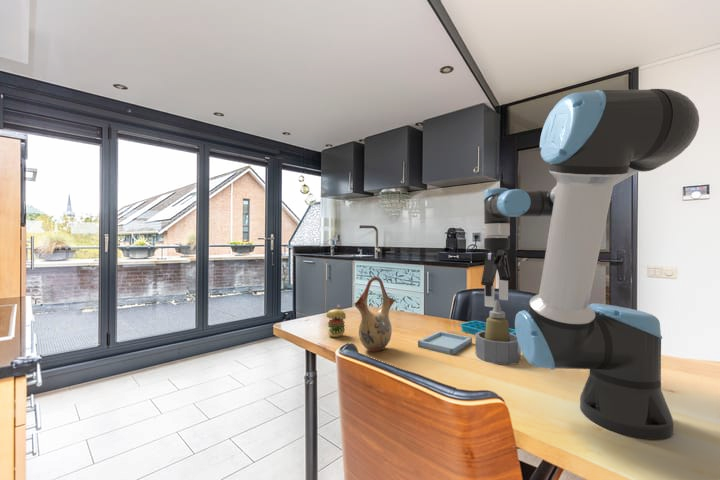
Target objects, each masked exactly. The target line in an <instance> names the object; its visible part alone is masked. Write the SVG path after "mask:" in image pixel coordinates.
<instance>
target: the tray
mask: <svg viewBox="0 0 720 480" xmlns="http://www.w3.org/2000/svg"><path fill="white" fill-rule="evenodd" d="M472 343H473V337H472V336H465V335H461V334H455V333H450V332H447V331H442V330H438V331H437V332H434V333H432V334H430V335H428V336H426V337H424V338H422V339H419V340H417V347H418V348H421V349H422V348H423V349H426V350H430V351H435V352H439V353H443V354H447V355H450V356H454V355H455V354H457V353H458V352H461V351H462V350H463V349H465V348H467V347H468V346H470V345H472Z"/></svg>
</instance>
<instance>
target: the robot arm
mask: <svg viewBox="0 0 720 480" xmlns="http://www.w3.org/2000/svg"><path fill="white" fill-rule="evenodd" d="M545 119H546V120H545V121H544V124H543V127H542V130H541V134H540V137H539V138H540V139H539V140H540V141H539V149H540V153H539V154H540V156H541V159H542V160H543V161H544V162H546V163H548V164H550V166H549V173H550V174H551V175H552V177H553V178H554V179H555V181H556V185H555V186H554V187H552V188H551V189H549V190H548V189H547V190H546V189H544V190H543V189H542V190H522V189H519V188H515V189H509V188H506V187H494V188H493V187H492V188H487V189H486V190H485V191H484V195H483V196H484V198H483V204H484V205H483V207H484V208H483V210H484V212H483V214H484V216H483V217H484V225H483V227H482V229H483V231H484V236H485V237H484V238H483V239H484V247H483V248H484V249H485V250H489V252H486V253H485V260H484V264H483V265H484V266H483V271H482V276H481V282H480V284H481V286H484V307H489V308H494V304H495V285H494V283H495V279H496V275H497V273H498V276H499V280H498V300H499V301H500V300H501V301H508V300H509V281H511V280H512V277H511V273H510V272H511V271H510V265H509V258H508V251H506V250H509V249H510V248H511V246H510V245H511V244H510V243H511V242H510V241H511V239H510V235H511V232H510V230H511V227H510V226H511V225H510V224H511V223H510V222H511V219H510V218H513V217H514V218H518V217H519V218H521V217H522V218H525V217H527V218H531V217H532V218H533V217H534V218H535V217H545V218H548V217H551V218H550V223H549V230H548V237H547V241H546V242H547V243H546V248H545V255H544V261H543V268H542V273H541V280H540V285H539V293H538V294H535V295H533V297H530V300H529V303H528V310H525V309H523V310H519V311H518V312H517V313H516V315H515V318H514V330H515V331H516V337H517V341H518V344H519V347H520V349H521V355H522V356H523V357H524V359H525V360H526V361H527V363H529V364H530V365H531V366H532V367H535V368H538V369H539V368H540V369H550V370H555V369H560V370H562V369H563V370H564V369H565V370H589V372H588V373H589V374H588V377H587V380H586V382H585V384H584V386H583V389H582V392H581V394H580V397H579V409H580V411H581V413H582V414H583V415H584V416H585V417H586V418H587V419H589V420H590V421H592V422H594V423H595V424H597V425H599V426H601V427H604V428H606V429H608V430H609V431H614V432H616V433H618V434H622V435H625V436H629V437H632V438H633V437H634V438H639V439H643V440H644V439H646V440H665V439H668V438H671V437H672V436H673V435H674V419H673V416H672V413H671V411H670V408H669V406H668V404H667V402H666V399H665V396H664V393H663V390H662V382H661V381H662V363H661V362H662V339H663V335H662V334H661V332H662V330H661V322H660V320H659V319H658V318H657V316H655V315H653V314H652V313H648V312H645V311H642V310H639V309H638V310H637V309H633V308H628V307H624V306H623V307H622V306H618V305H611V304H607V303H605V304H603V303H596V302H595V303H590V304H589V302H590V297H591V293H592V288H593V284H594V279H595V275H596V270H597V264H598V260H599V256H600V250H601V246H602V242H603V237H604V232H605V228H606V223H607V218H608V214H609V209H610V205H611V199H612V194H613V190H614V186H616V185H618V184H620V182H622V181H624V180H626V179H628V178H630V177H631V176H634V175H635V174H637V173H639V172H640V173H642V172H643V173H644V172H651V171H654V170H656V169H657V168H660V167H662V166H663V165H665V164H667V163H669V162H670V161H673V160H674V159H675V158H677V157H678V156H679V155H681V154H682V153H683V152H684V151H685V150H686V149H687V148H688V147H689V146H690V145H691V144H692V143H693V141H694V139H695V137H696V136H697V132H698V130H699V127H700V115H699V111H698V109H697V107H696V105H695V103H694V102H693V101H692V100H691V99H690V98H689V97H688V96H686V95H684V94H683V93H681V92H679V91H677V90H673V89H670V88H669V89H666V88H649V89H597V90H595V89H594V90H593V89H592V90H588V91H581V92H580V91H578V92H573V93H570V94H568V95H566V96H564V97H562V98H561V99H560V100H559V101H558V102H557V103H556V104H555V105H554V106H553V108H552V110H551V111H550V112H549V114H548V116H547V117H546V118H545Z"/></svg>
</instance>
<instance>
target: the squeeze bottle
mask: <svg viewBox="0 0 720 480" xmlns="http://www.w3.org/2000/svg"><path fill="white" fill-rule="evenodd" d="M492 308H493V309H492V310H490V311H489V317H487V318H486V322H485V323H486V330H485V339H487V340H492V341H499V342H509V341H510V333H509V328H510V327H509V326H510V325H509V320H508V319H507V318H506V312H505V311H502V307H501V303H500V299H494V307H492Z"/></svg>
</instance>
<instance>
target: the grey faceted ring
mask: <svg viewBox="0 0 720 480" xmlns="http://www.w3.org/2000/svg"><path fill="white" fill-rule="evenodd" d="M474 338H475V340H474V341H475V342H474V343H475V345H474V346H475V348H474V349H475V350H474V352H475V356H476V357H477V358H478V359H480V360H482V361H484V362H488V363H492V364H497V365H514V364H518V363H520V361H521V360H522V352H521V349H520V347H519V344H518V341H517V337H516V335H514V334H511V333H510V341H509V342H499V341H492V340H487V339H485V331H479V332H477V333H476V334H475V335H474Z"/></svg>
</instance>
